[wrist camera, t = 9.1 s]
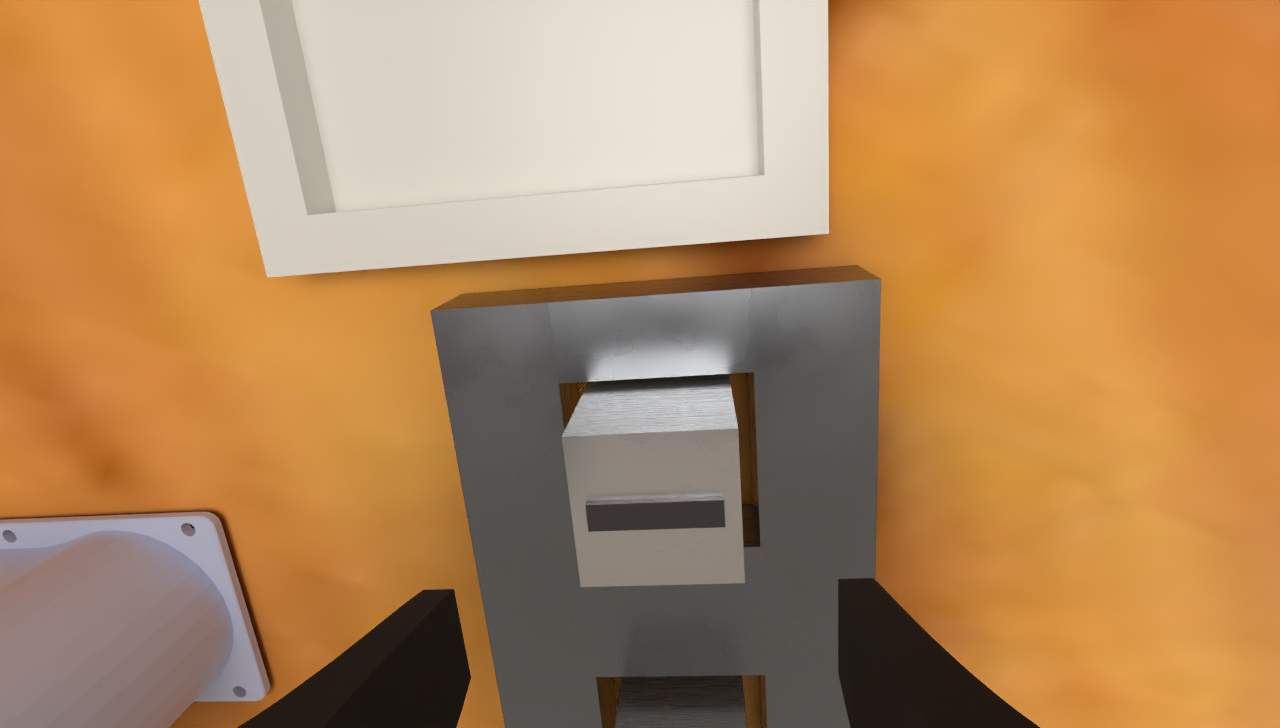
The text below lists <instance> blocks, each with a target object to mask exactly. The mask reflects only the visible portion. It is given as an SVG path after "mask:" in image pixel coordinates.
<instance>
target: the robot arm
mask: <svg viewBox="0 0 1280 728" xmlns="http://www.w3.org/2000/svg"><path fill="white" fill-rule="evenodd" d="M190 524H191V525H192V526H193V527H194V528H195V529H193V528H192V527H191V526H190ZM838 674H839V679H840V683H841V688H842V693H843V697H844V702H845V706H846V711H847V715H848V719H849V724H850V728H1040V727H1038V726H1037V725H1036V724H1034V723H1033V722H1032V721H1030V720H1029V719H1027V718H1026V717H1025V716H1023V715H1022V714H1021V713H1019V712H1018V711H1017V710H1015V709H1014V708H1013V707H1011V706H1010V705H1009V704H1008V703H1006V702H1005V701H1004V700H1002V699H1001V698H1000V697H999V696H997V695H996V694H995V693H994V692H993V691H991V690H990V689H989V688H988V687H987V686H986V685H984V684H983V683H982V682H981V681H980V680H978V679H977V678H976V677H975V676H974V675H972V674H971V673H970V672H969V671H968V670H967V669H966V668H965V667H963V666H962V665H961V664H960V663H959V662H958V661H957V660H956V659H955V658H954V657H952V656H951V655H950V654H949V653H948V652H947V651H946V650H945V649H944V648H943V647H942V646H941V645H940V644H939V643H938V642H936V641H935V640H934V639H933V638H932V637H931V636H930V635H929V634H928V633H927V632H926V631H925V630H924V629H923V628H922V627H921V626H920V625H919V624H918V623H917V622H916V621H915V620H914V619H913V618H912V617H911V616H910V615H909V614H908V613H907V612H906V611H905V610H904V609H903V608H902V607H901V606H900V605H899V604H898V603H897V602H896V601H895V600H894V599H893V598H892V597H891V596H890V594H889V593H888V592H887V591H886V590H885V589H884V588H883V587H882V586H881V585H880V584H879V583H878V582H877V581H876V580H875V579H873V578H855V579H838ZM470 679H471V676H470V670H469V665H468V660H467V655H466V650H465V644H464V639H463V634H462V629H461V624H460V619H459V613H458V608H457V603H456V598H455V593H454V589H446V590H423V591H422V592H420V593H419V594H417V595H416V596H414V597H413V598H412V599H410V600H409V601H408V602H406V603H405V604H404V605H403V606H401V607H400V608H399V609H398V610H396V611H395V612H394V613H393V614H391V615H390V616H389V617H388V618H386V619H385V620H384V621H383V622H381V623H380V624H379V625H378V626H376V627H375V628H374V629H373V630H371V631H370V632H369V633H368V634H366V635H365V636H364V637H363V638H361V639H360V640H359V641H357V642H356V643H355V644H354V645H352V646H351V647H350V648H349V649H347V650H346V651H345V652H344V653H342V654H341V655H340V656H339V657H337V658H336V659H335V660H333V661H332V662H331V663H329V664H328V665H327V666H325V667H324V668H323V669H321V670H320V671H318V672H317V673H316V674H314V675H313V676H312V677H310V678H309V679H308V680H306V681H305V682H303V683H302V684H301V685H299V686H298V687H297V688H295V689H294V690H293V691H291V692H290V693H289V694H287V695H286V696H284V697H283V698H282V699H280V700H279V701H277V702H276V703H274V704H273V705H271V706H270V707H268V708H267V709H265V710H264V711H262V712H261V713H259V714H258V715H256V716H255V717H253V718H252V719H250V720H249V721H247V722H246V723H244V724H242V725H241V726H239V727H238V728H456V727H457V724H458V720H459V717H460V714H461V711H462V707H463V704H464V700H465V697H466V693H467V689H468V686H469V682H470ZM269 690H270V683H269V680H268V677H267V673H266V670H265V667H264V663H263V660H262V657H261V653H260V650H259V647H258V643H257V640H256V637H255V633H254V630H253V627H252V623H251V620H250V617H249V613H248V610H247V607H246V603H245V600H244V597H243V593H242V590H241V587H240V583H239V580H238V577H237V573H236V570H235V567H234V563H233V560H232V557H231V553H230V550H229V547H228V544H227V540H226V537H225V534H224V530H223V527H222V524H221V522H220V520H219V518H218V517H217V516H216V515H214V514H212V513H210V512H205V511H204V512H179V513H154V514H129V515H104V516H79V517H54V518H30V519H5V520H0V728H169V727H170V726H171V725H172V724H173V723H174V722H175V721H176V720H177V719H178V718H179V716H180V715H181V714H182V713H183V712H184V711H185V710H186V709H187V708H188V707H189V706H190V705H191V704H192V703H193V702H228V701H260V700H262V699H263V698H264V697H265V696H266V695H267V693H268V692H269Z"/></svg>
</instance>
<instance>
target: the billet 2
mask: <svg viewBox="0 0 1280 728" xmlns="http://www.w3.org/2000/svg"><path fill="white" fill-rule="evenodd" d="M615 728H747V722H746V712H745V702H744V692H743V681H742V675H736V676H655V677H622V679H621V686H620V694H619V701H618V708H617V715H616V723H615Z"/></svg>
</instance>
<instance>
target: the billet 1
mask: <svg viewBox="0 0 1280 728" xmlns="http://www.w3.org/2000/svg"><path fill="white" fill-rule="evenodd" d="M562 443H563V451H564V459H565V467H566V475H567V483H568V491H569V499H570V507H571V514H572V522H573V530H574V538H575V546H576V554H577V562H578V570H579V578H580V586H581V587H608V586H649V585H691V584H732V583H745V573H744V550H743V526H742V503H741V480H740V457H739V433H738V424H737V418H736V413H735V407H734V401H733V396H732V390H731V385H730V379H729V374H714V375H697V376H680V377H662V378H645V379H628V380H611V381H593V382H588V384H587V386H586V388H585V390H584V392H583V394H582V396H581V398H580V400H579V402H578V404H577V406H576V408H575V410H574V412H573V415H572V417H571V419H570V421H569V423H568V425H567V427H566V429H565V431H564V433H563V435H562Z"/></svg>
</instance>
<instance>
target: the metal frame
mask: <svg viewBox="0 0 1280 728" xmlns="http://www.w3.org/2000/svg"><path fill="white" fill-rule="evenodd" d="M880 294H881V279H880V278H878V277H876V276H875V275H873V274H871V273H869V272H868V271H866V270H864V269H863V268H861V267H859V266H857V265H855V266H841V267H828V268H814V269H800V270H786V271H773V272H759V273H745V274H732V275H718V276H704V277H690V278H677V279H663V280H649V281H636V282H622V283H608V284H594V285H581V286H567V287H553V288H539V289H526V290H512V291H498V292H485V293H471V294H461V295H459V296H457V297H455V298H453V299H452V300H450V301H448V302H446V303H444V304H442V305H441V306H439V307H437V308H435V309H433V310H431V317H432V322H433V328H434V333H435V339H436V345H437V350H438V356H439V361H440V367H441V372H442V378H443V383H444V389H445V395H446V400H447V406H448V411H449V417H450V422H451V428H452V434H453V439H454V445H455V450H456V456H457V461H458V467H459V472H460V478H461V484H462V489H463V495H464V500H465V506H466V511H467V517H468V523H469V528H470V534H471V539H472V545H473V550H474V556H475V561H476V567H477V573H478V578H479V584H480V589H481V595H482V600H483V606H484V612H485V617H486V623H487V628H488V634H489V639H490V645H491V650H492V656H493V662H494V667H495V673H496V678H497V684H498V689H499V695H500V701H501V706H502V712H503V717H504V723H505V728H615V723H616V707H615V698H614V690H613V682H612V677H655V676H736V675H760V691H761V716H762V728H850V724H849V719H848V715H847V711H846V706H845V702H844V697H843V693H842V688H841V683H840V679H839V674H838V579H855V578H873V579H875V557H876V505H877V452H878V399H879V346H880ZM732 373H748V397H749V421H750V446H751V470H752V495H753V505H742V526H743V550H744V573H745V583H732V584H691V585H649V586H608V587H581V586H580V578H579V570H578V562H577V554H576V546H575V538H574V530H573V522H572V514H571V507H570V499H569V491H568V483H567V475H566V467H565V459H564V451H563V443H562V435H563V433H564V431H565V429H566V427H567V425H568V423H569V421H570V419H571V417H572V415H573V412H574V410H575V408H576V406H577V404H578V402H579V395H578V387H577V382H593V381H611V380H628V379H645V378H662V377H680V376H697V375H714V374H732Z"/></svg>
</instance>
